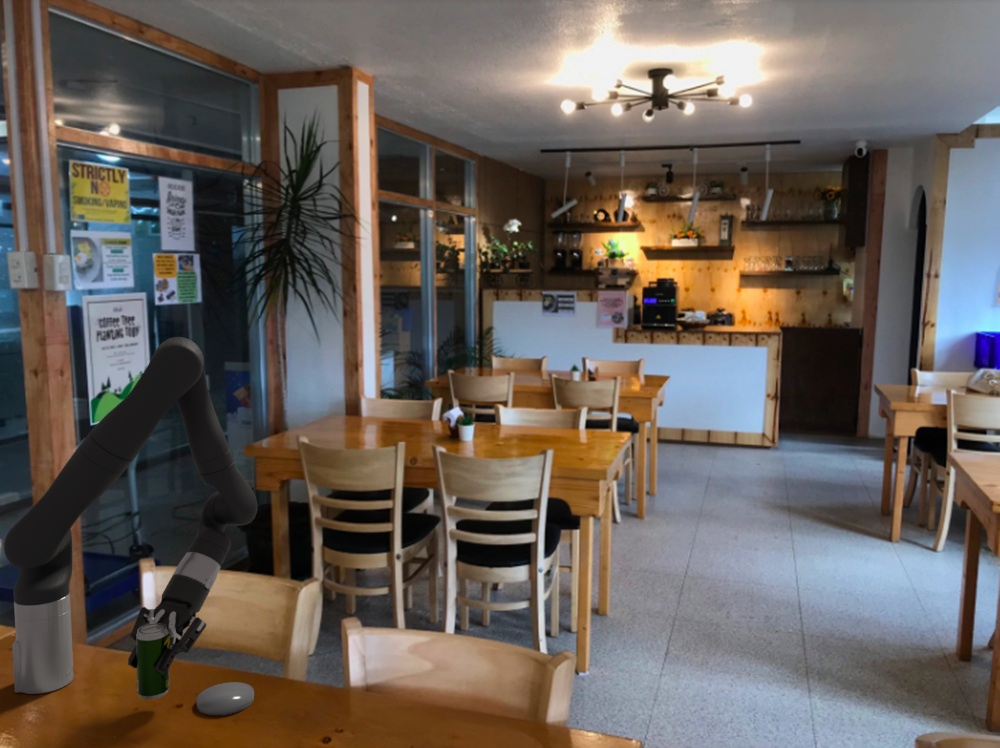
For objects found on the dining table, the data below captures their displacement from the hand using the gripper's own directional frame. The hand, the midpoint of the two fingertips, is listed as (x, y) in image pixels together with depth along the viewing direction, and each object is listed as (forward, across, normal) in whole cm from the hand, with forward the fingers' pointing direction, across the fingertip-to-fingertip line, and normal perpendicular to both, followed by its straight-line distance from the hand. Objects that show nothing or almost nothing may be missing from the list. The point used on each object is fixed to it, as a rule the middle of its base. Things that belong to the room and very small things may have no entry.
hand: (145, 669), depth 139 cm
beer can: (+3, 0, +5) cm, 6 cm away
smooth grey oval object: (0, +10, +12) cm, 16 cm away
